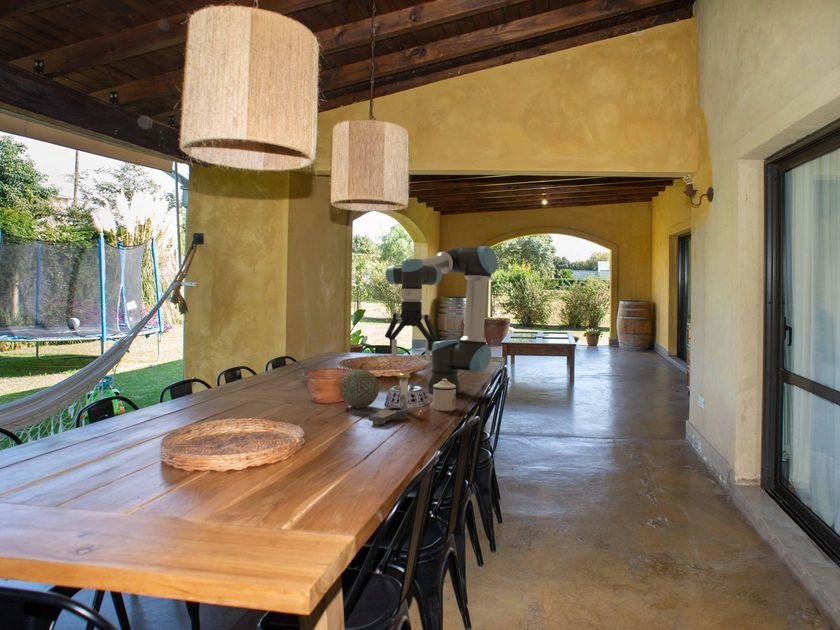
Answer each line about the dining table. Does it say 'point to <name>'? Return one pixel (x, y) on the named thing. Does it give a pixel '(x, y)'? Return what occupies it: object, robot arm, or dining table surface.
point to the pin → (403, 389)
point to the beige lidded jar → (444, 396)
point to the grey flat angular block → (382, 414)
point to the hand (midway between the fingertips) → (410, 358)
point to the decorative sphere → (359, 388)
